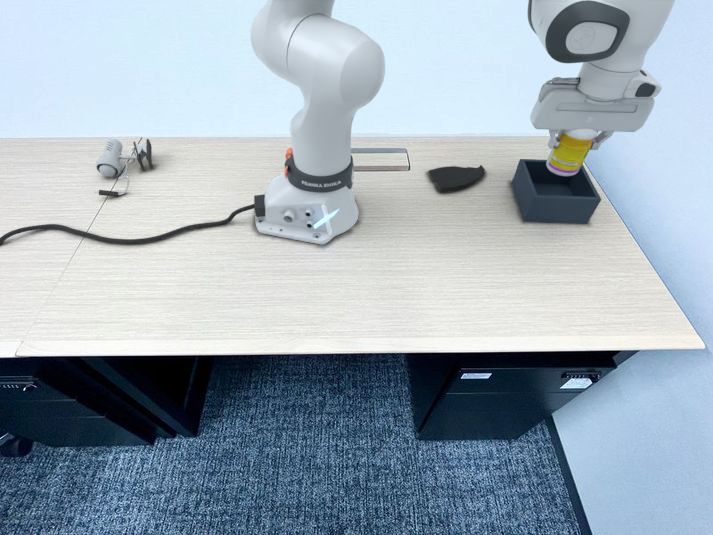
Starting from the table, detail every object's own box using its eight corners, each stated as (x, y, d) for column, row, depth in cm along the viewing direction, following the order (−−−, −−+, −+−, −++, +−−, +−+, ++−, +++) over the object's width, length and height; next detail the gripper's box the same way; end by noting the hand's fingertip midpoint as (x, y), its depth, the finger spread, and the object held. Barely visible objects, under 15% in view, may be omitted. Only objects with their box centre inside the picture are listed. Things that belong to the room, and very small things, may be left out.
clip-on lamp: (146, 205, 94) (157, 149, 103) (137, 188, 89) (149, 130, 97) (92, 205, 93) (108, 148, 101) (79, 187, 87) (97, 128, 95)
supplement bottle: (579, 180, 82) (609, 122, 72) (545, 175, 83) (571, 117, 73) (576, 161, 86) (604, 104, 76) (544, 157, 87) (568, 100, 77)
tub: (523, 221, 87) (534, 197, 82) (511, 183, 96) (520, 158, 90) (586, 224, 86) (601, 199, 81) (568, 185, 95) (580, 160, 90)
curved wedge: (492, 186, 95) (494, 180, 94) (438, 194, 93) (439, 188, 92) (477, 165, 100) (479, 160, 99) (426, 172, 98) (427, 167, 97)
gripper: (549, 85, 68) (523, 155, 79) (672, 88, 67) (629, 158, 78) (540, 69, 72) (517, 137, 83) (655, 72, 72) (617, 140, 82)
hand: (572, 147), depth 80 cm, fingers closed on supplement bottle, 6 cm apart
